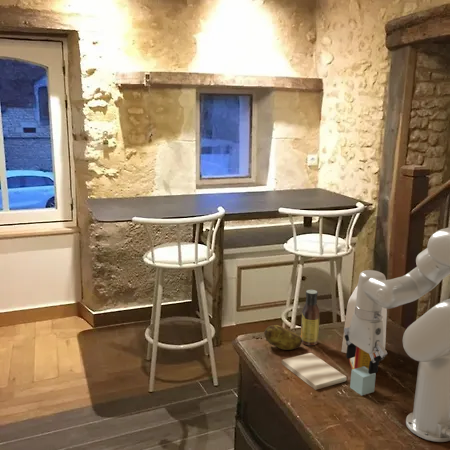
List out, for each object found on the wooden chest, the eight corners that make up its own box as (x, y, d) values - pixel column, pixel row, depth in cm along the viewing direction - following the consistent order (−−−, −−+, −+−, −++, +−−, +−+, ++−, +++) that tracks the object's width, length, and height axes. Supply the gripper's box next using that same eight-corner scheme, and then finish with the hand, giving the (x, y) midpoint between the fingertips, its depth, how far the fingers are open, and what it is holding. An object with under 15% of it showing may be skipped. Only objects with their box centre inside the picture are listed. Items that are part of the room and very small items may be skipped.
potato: (298, 355, 177) (299, 334, 175) (261, 349, 181) (262, 328, 179) (302, 345, 184) (303, 324, 183) (267, 340, 188) (268, 319, 187)
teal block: (374, 391, 155) (375, 373, 154) (361, 395, 153) (363, 377, 151) (362, 384, 159) (364, 366, 158) (350, 387, 157) (351, 369, 156)
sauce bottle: (305, 337, 191) (308, 286, 187) (320, 342, 188) (324, 290, 183) (297, 343, 186) (300, 291, 182) (312, 348, 182) (316, 295, 178)
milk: (341, 351, 181) (346, 281, 175) (352, 340, 190) (358, 272, 184) (375, 361, 174) (381, 288, 168) (385, 348, 184) (392, 279, 178)
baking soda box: (348, 361, 174) (352, 316, 170) (368, 362, 173) (372, 317, 170) (354, 375, 164) (358, 328, 161) (375, 376, 164) (379, 329, 161)
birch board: (346, 381, 161) (346, 376, 160) (315, 389, 155) (315, 385, 155) (310, 356, 176) (311, 352, 176) (281, 363, 171) (281, 359, 170)
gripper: (399, 322, 145) (391, 376, 150) (357, 299, 160) (351, 349, 164) (379, 326, 142) (372, 382, 146) (338, 303, 157) (333, 354, 161)
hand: (361, 364), depth 155 cm, fingers open, 9 cm apart
